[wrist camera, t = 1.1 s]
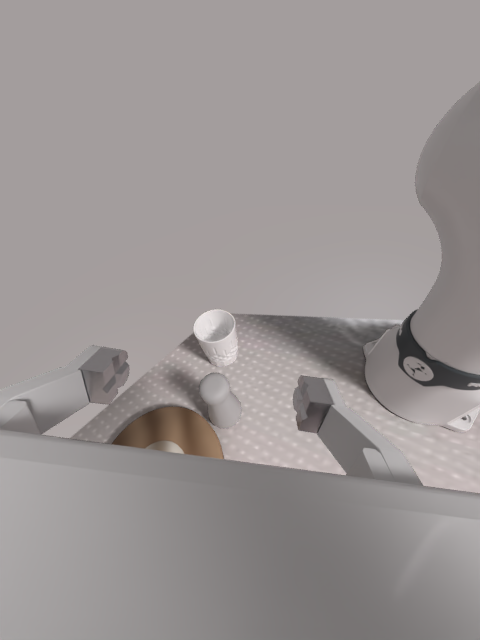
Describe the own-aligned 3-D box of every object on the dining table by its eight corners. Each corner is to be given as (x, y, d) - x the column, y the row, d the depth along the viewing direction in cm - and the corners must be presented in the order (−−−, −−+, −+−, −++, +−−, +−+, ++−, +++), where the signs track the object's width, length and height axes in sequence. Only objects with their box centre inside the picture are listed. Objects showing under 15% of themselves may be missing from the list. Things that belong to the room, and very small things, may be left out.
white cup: (212, 336, 51) (201, 307, 44) (244, 341, 49) (239, 311, 42) (200, 366, 47) (186, 338, 39) (235, 372, 45) (228, 345, 37)
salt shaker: (205, 411, 40) (184, 381, 30) (230, 392, 42) (218, 357, 32) (222, 439, 37) (205, 415, 27) (249, 417, 39) (242, 387, 29)
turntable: (196, 388, 42) (194, 386, 41) (249, 508, 30) (248, 508, 29) (88, 447, 37) (84, 446, 37) (100, 618, 25) (93, 623, 24)
